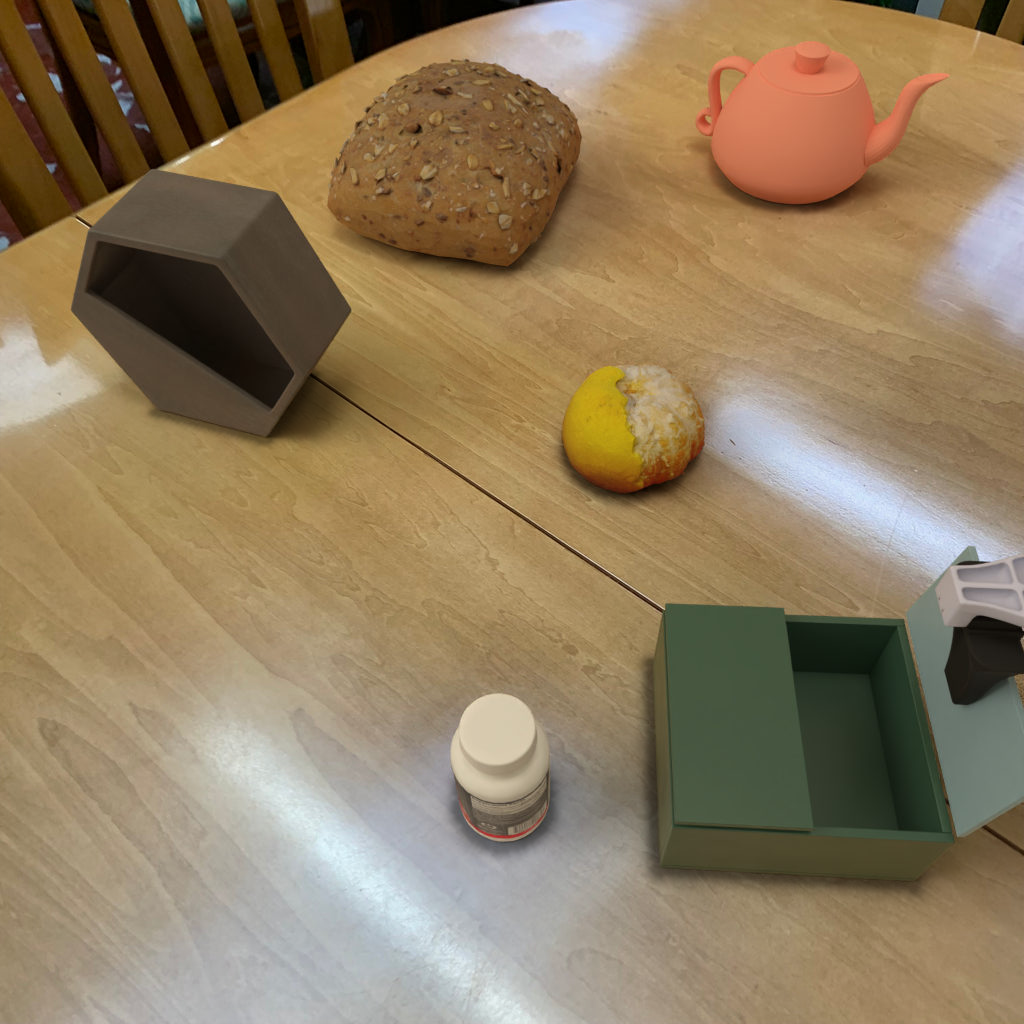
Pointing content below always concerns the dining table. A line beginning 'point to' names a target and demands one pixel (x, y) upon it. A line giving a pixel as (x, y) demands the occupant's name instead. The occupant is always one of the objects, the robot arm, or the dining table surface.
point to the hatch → (969, 724)
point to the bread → (456, 163)
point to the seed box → (793, 746)
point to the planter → (208, 298)
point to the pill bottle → (501, 767)
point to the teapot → (801, 123)
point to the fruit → (632, 427)
